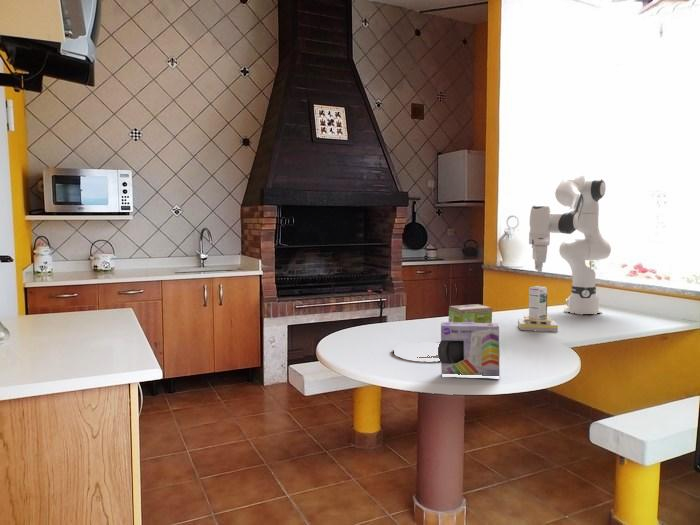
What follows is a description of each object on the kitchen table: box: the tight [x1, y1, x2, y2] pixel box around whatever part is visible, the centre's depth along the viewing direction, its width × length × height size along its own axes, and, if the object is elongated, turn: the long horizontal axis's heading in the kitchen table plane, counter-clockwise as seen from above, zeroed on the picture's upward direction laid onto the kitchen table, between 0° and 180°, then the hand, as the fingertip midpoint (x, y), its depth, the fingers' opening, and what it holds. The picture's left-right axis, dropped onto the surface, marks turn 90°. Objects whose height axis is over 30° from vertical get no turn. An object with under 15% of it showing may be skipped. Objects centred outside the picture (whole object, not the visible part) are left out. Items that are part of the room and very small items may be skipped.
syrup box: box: [528, 285, 548, 320], centre depth 243 cm, size 6×6×14 cm
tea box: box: [448, 303, 493, 323], centre depth 219 cm, size 15×10×15 cm
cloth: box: [523, 315, 553, 324], centre depth 243 cm, size 9×11×2 cm
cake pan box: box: [438, 321, 501, 377], centre depth 170 cm, size 19×5×18 cm, turn 78°
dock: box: [517, 318, 559, 333], centre depth 243 cm, size 12×16×3 cm
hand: (538, 270), depth 241 cm, fingers open, 8 cm apart
